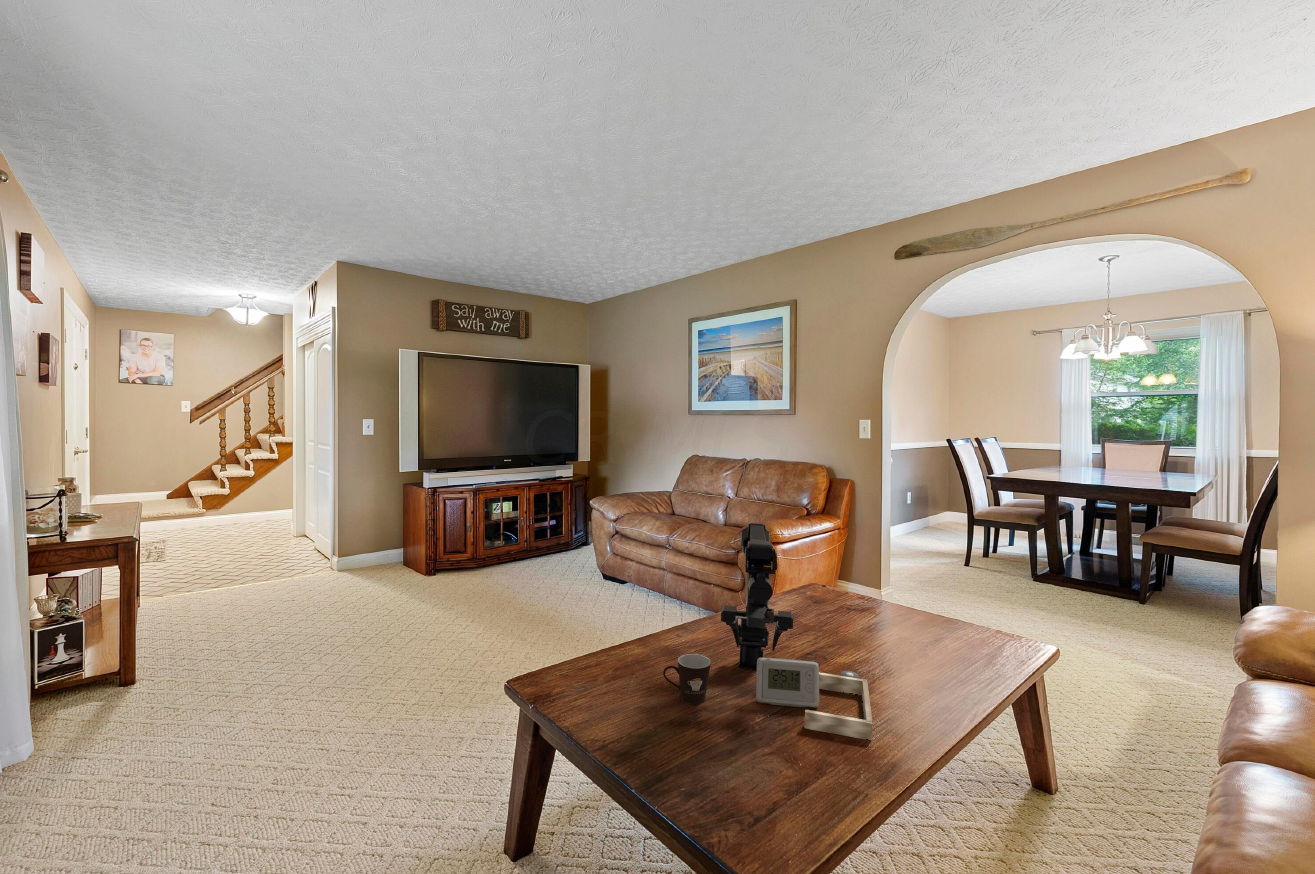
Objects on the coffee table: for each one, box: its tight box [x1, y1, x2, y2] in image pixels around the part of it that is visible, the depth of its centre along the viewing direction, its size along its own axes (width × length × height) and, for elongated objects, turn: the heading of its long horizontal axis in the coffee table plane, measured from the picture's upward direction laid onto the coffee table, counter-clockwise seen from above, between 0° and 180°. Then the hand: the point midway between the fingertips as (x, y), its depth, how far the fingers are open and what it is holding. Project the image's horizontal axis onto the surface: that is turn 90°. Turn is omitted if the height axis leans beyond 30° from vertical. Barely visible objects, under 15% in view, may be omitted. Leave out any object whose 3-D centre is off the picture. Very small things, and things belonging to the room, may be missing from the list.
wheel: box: [839, 670, 860, 679], centre depth 167 cm, size 5×5×2 cm
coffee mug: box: [662, 653, 712, 706], centre depth 154 cm, size 12×9×10 cm
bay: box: [803, 671, 874, 741], centre depth 150 cm, size 15×23×4 cm, turn 164°
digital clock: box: [755, 657, 820, 708], centre depth 154 cm, size 16×9×11 cm, turn 72°
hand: (755, 648), depth 157 cm, fingers open, 9 cm apart
